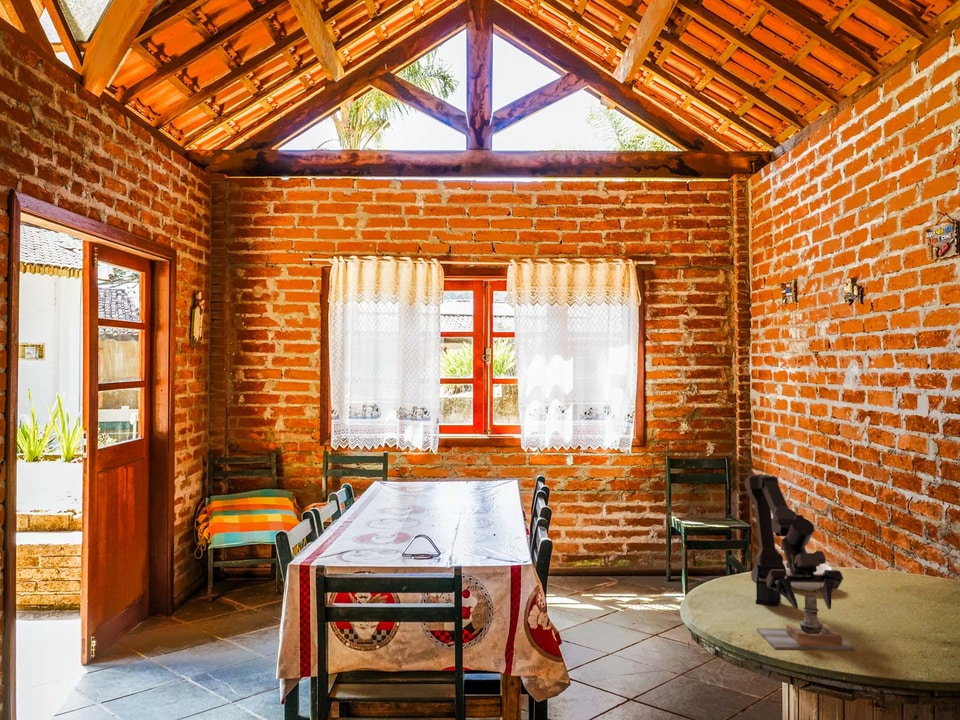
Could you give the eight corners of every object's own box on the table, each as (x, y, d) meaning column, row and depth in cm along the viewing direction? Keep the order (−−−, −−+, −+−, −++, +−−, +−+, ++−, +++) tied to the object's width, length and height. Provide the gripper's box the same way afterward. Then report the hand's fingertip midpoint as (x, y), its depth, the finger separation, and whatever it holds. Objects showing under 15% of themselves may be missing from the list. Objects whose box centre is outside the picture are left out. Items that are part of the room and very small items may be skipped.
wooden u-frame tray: (756, 630, 201) (756, 619, 201) (831, 631, 200) (831, 620, 200) (774, 648, 187) (774, 636, 187) (855, 650, 186) (854, 637, 186)
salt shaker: (820, 643, 190) (819, 596, 190) (796, 638, 193) (795, 592, 194) (826, 636, 194) (825, 590, 195) (802, 632, 198) (801, 587, 198)
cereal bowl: (765, 583, 249) (765, 562, 249) (802, 578, 255) (802, 557, 255) (806, 597, 233) (805, 574, 233) (844, 591, 240) (843, 569, 240)
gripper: (769, 539, 199) (784, 592, 187) (839, 540, 198) (859, 593, 186) (759, 561, 206) (774, 613, 195) (827, 562, 205) (846, 614, 194)
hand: (813, 608), depth 192 cm, fingers open, 8 cm apart
